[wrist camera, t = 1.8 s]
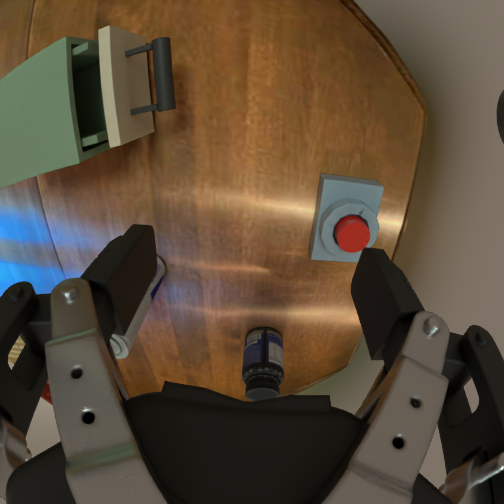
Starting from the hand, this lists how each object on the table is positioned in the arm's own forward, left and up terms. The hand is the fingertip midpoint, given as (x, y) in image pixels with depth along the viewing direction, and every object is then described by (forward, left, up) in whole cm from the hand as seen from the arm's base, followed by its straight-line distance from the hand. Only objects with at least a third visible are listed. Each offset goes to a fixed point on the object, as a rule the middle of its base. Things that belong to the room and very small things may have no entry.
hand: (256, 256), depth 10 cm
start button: (-3, +12, -17) cm, 21 cm away
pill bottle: (+18, +23, -21) cm, 36 cm away
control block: (-3, +12, -21) cm, 24 cm away
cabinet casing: (+14, -21, -21) cm, 33 cm away
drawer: (+8, -17, -20) cm, 27 cm away
